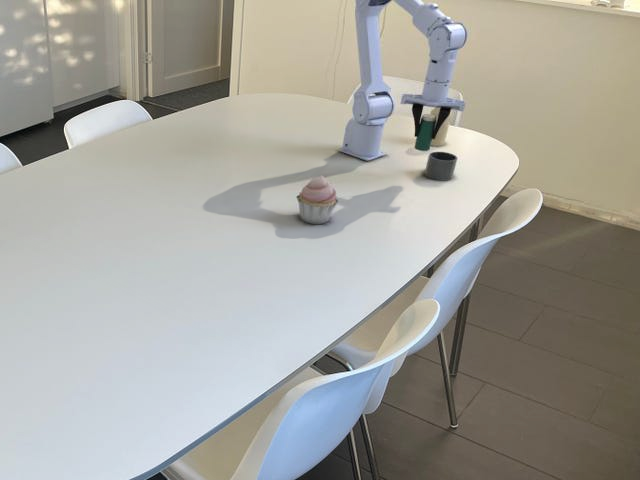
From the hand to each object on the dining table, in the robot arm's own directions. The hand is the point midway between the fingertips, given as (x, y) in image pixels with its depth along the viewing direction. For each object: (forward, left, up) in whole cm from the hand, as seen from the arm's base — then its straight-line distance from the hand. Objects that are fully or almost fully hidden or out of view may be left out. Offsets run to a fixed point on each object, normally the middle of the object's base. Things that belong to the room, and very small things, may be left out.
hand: (424, 136), depth 179 cm
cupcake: (+1, -40, -11) cm, 41 cm away
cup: (+3, +6, -10) cm, 12 cm away
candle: (-12, +27, -11) cm, 32 cm away
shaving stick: (0, 0, -3) cm, 3 cm away
